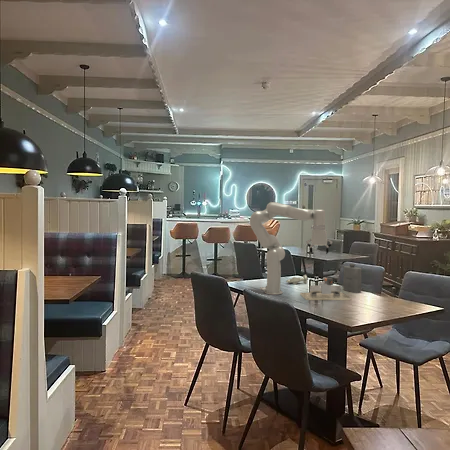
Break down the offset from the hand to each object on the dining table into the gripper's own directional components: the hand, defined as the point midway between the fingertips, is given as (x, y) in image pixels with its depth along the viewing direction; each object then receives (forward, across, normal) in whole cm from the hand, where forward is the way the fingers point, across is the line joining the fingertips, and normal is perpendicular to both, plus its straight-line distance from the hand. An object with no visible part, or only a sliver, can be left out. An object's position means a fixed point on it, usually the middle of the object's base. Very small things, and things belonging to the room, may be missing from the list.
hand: (319, 253), depth 284 cm
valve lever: (+19, +5, 0) cm, 20 cm away
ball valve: (+30, +4, +5) cm, 31 cm away
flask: (+31, +23, +32) cm, 50 cm away
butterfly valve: (+29, -18, +50) cm, 61 cm away
